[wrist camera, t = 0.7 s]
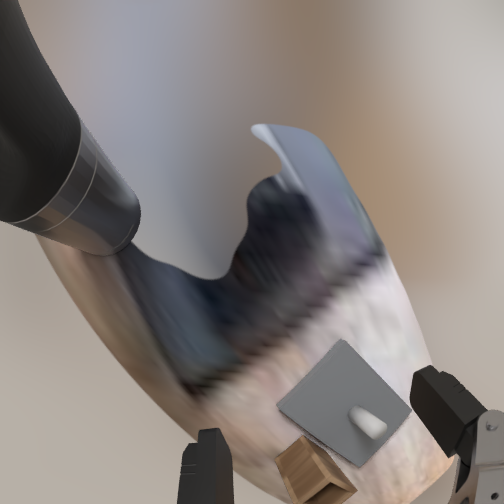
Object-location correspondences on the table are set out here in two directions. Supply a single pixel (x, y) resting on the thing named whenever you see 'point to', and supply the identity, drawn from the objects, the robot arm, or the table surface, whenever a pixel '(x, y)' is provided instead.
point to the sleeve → (313, 475)
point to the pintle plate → (346, 405)
